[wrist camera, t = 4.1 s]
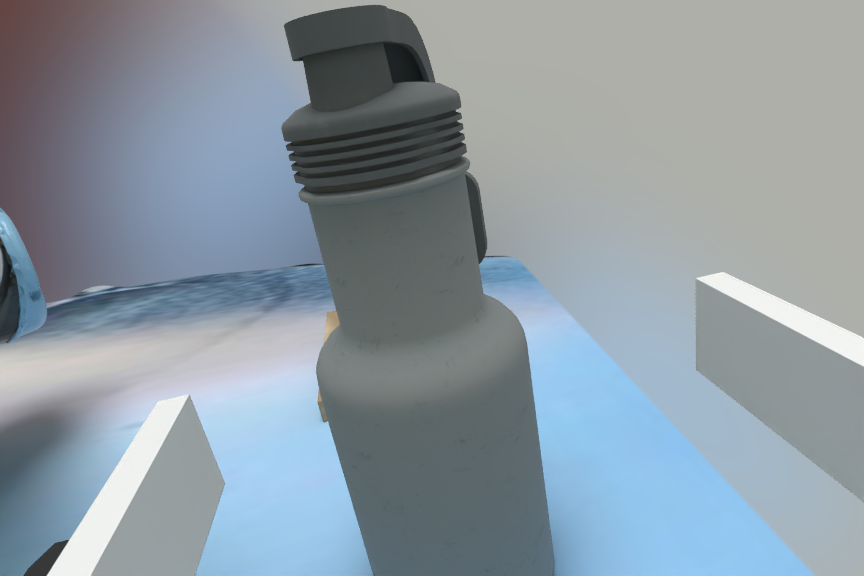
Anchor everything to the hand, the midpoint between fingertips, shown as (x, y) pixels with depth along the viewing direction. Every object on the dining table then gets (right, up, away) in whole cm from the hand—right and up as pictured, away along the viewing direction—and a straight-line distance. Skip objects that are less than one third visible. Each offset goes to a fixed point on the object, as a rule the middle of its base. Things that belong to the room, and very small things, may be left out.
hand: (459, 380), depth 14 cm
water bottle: (+1, -13, +16) cm, 21 cm away
